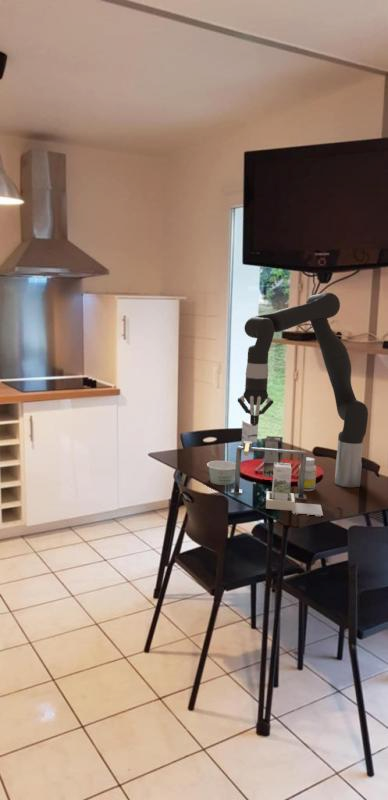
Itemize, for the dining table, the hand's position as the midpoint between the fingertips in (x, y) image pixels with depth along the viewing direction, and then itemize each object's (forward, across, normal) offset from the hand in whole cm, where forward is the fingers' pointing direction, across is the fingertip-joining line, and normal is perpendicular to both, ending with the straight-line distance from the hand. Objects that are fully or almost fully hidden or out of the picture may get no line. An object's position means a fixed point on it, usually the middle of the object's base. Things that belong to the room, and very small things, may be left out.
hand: (254, 425), depth 214 cm
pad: (+26, -19, +9) cm, 34 cm away
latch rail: (+26, -6, -4) cm, 27 cm away
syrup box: (+26, -10, +6) cm, 29 cm away
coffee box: (+26, -8, -25) cm, 37 cm away
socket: (+26, -10, +6) cm, 29 cm away
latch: (+9, +2, +2) cm, 9 cm away
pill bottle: (+26, -20, -15) cm, 37 cm away
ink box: (+26, +4, -75) cm, 80 cm away
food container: (+26, +12, -16) cm, 33 cm away
